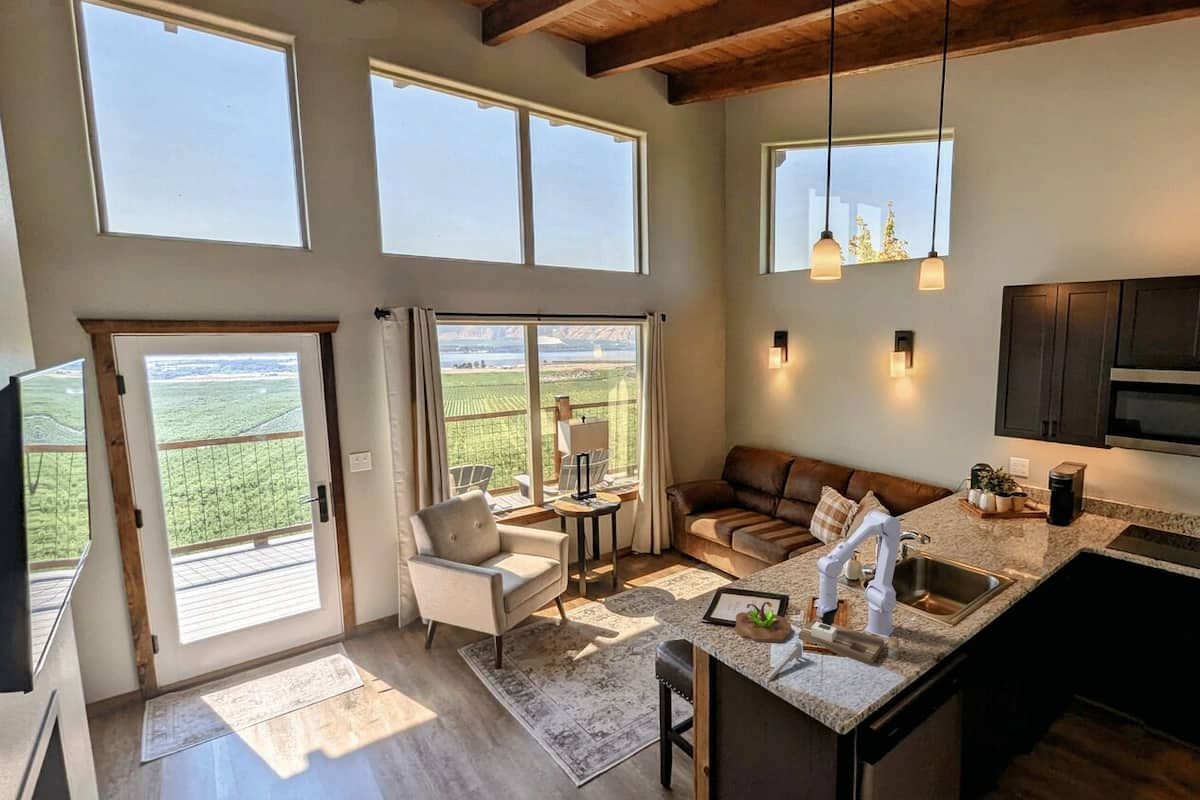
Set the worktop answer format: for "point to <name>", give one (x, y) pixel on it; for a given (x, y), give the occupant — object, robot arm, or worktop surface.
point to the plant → (762, 625)
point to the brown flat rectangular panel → (847, 643)
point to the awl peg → (893, 648)
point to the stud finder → (824, 631)
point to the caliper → (786, 661)
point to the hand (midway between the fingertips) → (827, 628)
